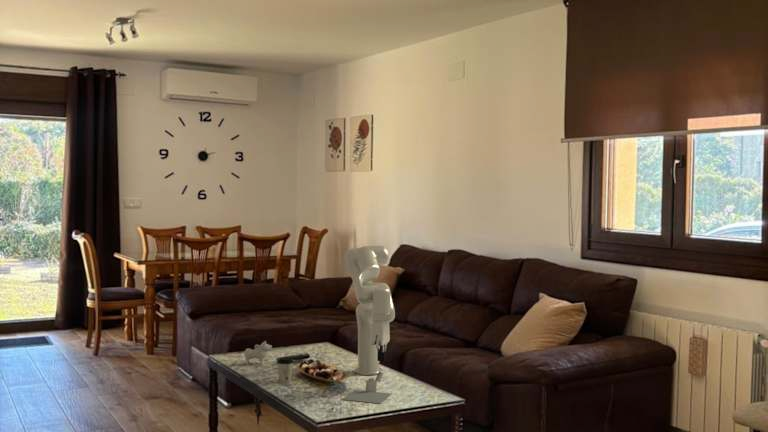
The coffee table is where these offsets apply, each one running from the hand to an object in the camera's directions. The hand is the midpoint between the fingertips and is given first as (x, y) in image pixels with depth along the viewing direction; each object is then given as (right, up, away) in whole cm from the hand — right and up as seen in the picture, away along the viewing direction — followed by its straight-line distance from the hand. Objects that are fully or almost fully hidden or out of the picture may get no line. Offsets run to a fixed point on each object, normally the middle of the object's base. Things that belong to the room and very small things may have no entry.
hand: (381, 360), depth 320 cm
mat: (-6, -12, -15) cm, 20 cm away
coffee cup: (-41, -11, +8) cm, 43 cm away
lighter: (-3, -11, -7) cm, 13 cm away
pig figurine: (-58, -9, +38) cm, 70 cm away
